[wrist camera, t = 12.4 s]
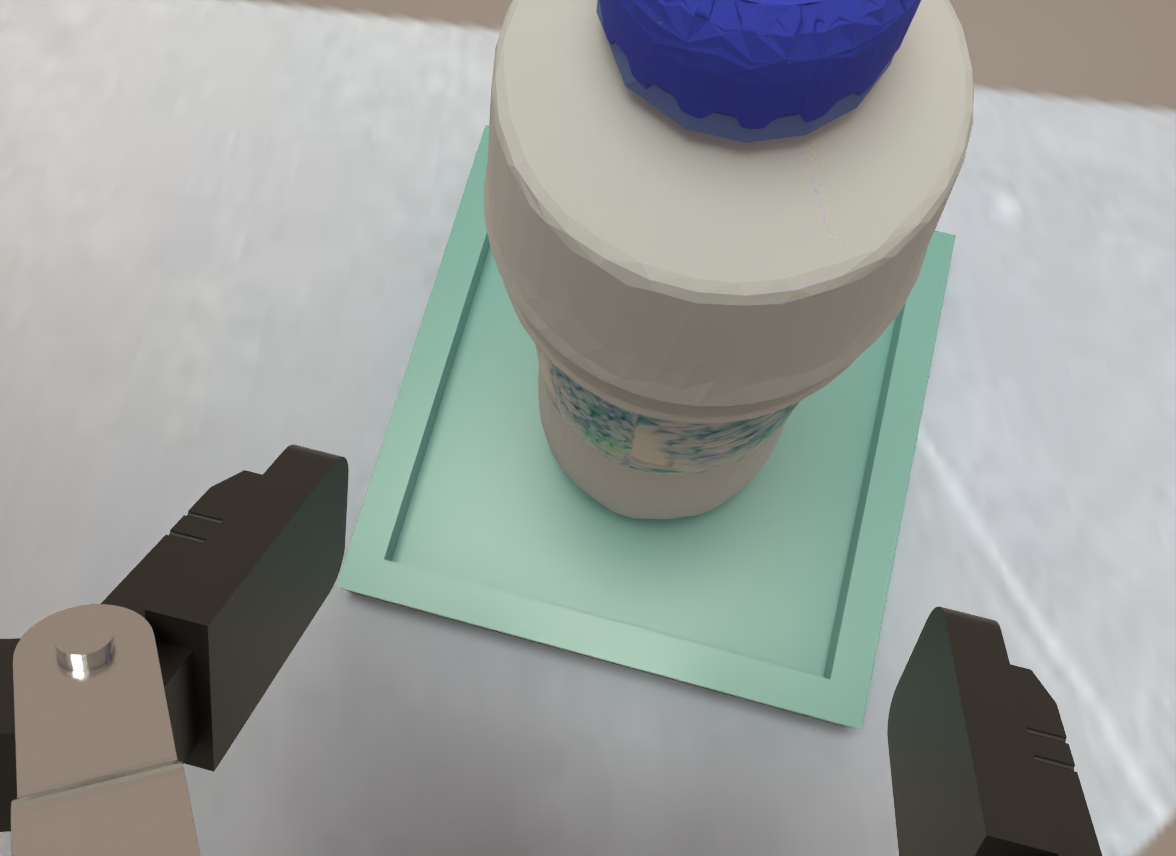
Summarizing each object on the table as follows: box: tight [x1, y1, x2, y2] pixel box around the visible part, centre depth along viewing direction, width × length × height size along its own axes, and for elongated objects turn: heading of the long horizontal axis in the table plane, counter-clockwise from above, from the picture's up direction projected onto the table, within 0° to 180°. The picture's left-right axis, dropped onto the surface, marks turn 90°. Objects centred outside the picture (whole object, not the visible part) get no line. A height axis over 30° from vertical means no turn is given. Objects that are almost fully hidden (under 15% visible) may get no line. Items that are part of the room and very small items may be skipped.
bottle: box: [484, 0, 974, 519], centre depth 19 cm, size 7×7×20 cm
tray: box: [336, 125, 955, 729], centre depth 28 cm, size 14×14×2 cm
